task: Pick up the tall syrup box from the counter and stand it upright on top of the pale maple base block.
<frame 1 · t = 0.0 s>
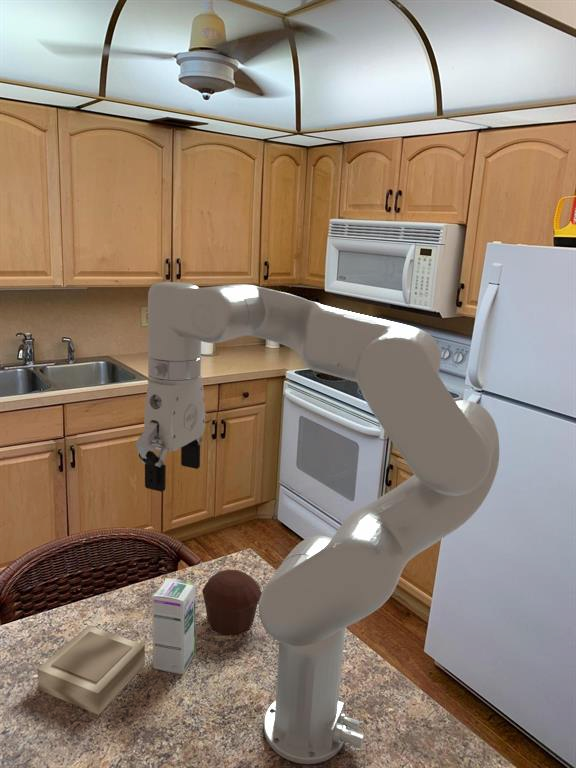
hand: (173, 477, 88), 37 cm above the countertop, tool pointing down, fingers open, 9 cm apart
syrup box: (174, 662, 101), on the countertop
base block: (93, 676, 97), on the countertop
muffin: (230, 622, 113), on the countertop
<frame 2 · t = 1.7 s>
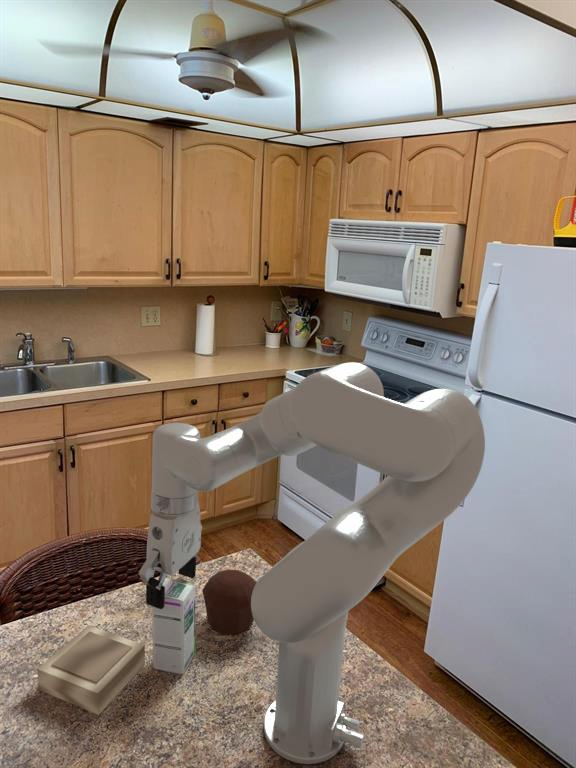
hand: (171, 590, 98), 14 cm above the countertop, tool pointing down, fingers open, 9 cm apart
nothing on the countertop moved.
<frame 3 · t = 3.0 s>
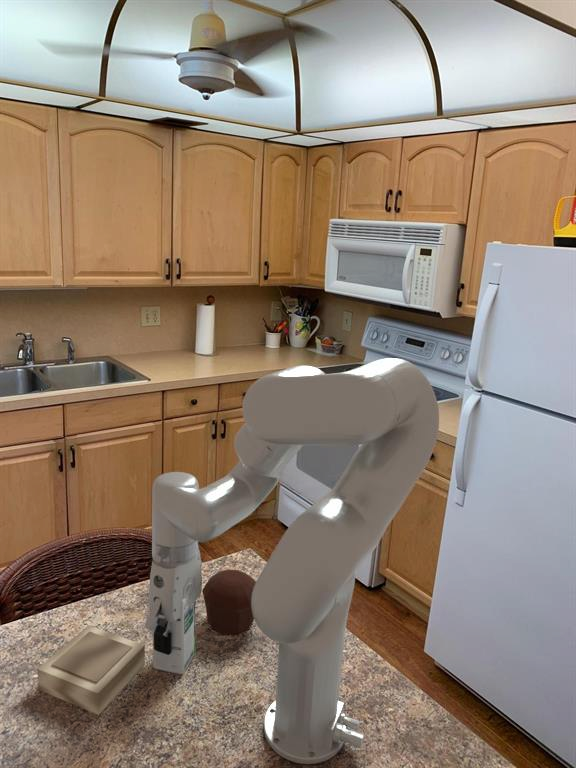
hand: (174, 638, 100), 5 cm above the countertop, tool pointing down, fingers closed on syrup box, 6 cm apart
syrup box: (174, 661, 101), on the countertop, touching gripper
everything else where it was.
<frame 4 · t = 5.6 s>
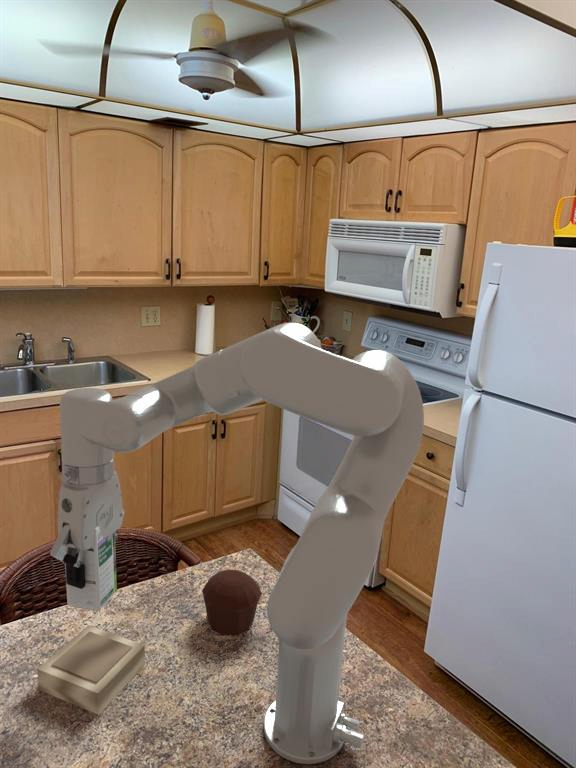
hand: (91, 573, 92), 20 cm above the countertop, tool pointing down, fingers closed on syrup box, 6 cm apart
syrup box: (92, 599, 93), point 15 cm above the countertop, touching gripper
everything else where it was.
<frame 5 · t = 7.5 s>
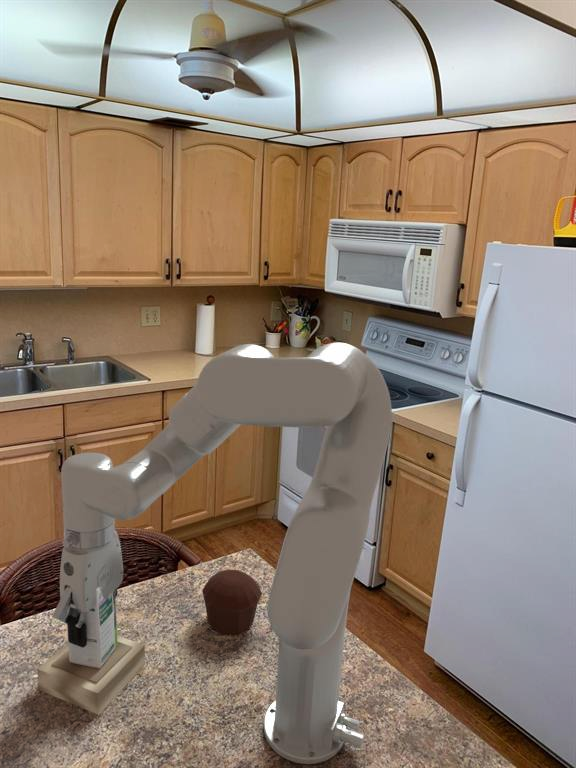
hand: (92, 629, 94), 9 cm above the countertop, tool pointing down, fingers closed on syrup box, 6 cm apart
syrup box: (93, 655, 95), point 4 cm above the countertop, touching gripper
everything else where it was.
when the fingers open (9 cm above the countertop, at t = 8.4 s): syrup box stays where it is, resting on base block.
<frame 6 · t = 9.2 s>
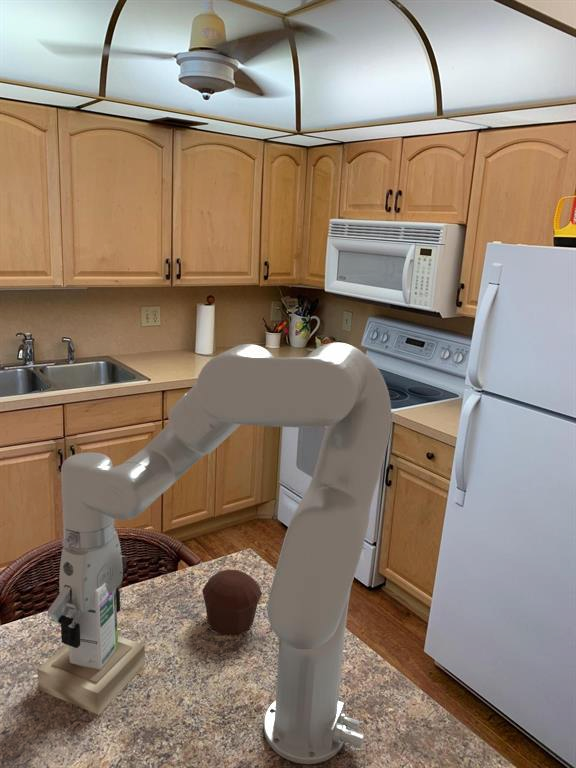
hand: (92, 626, 94), 10 cm above the countertop, tool pointing down, fingers open, 9 cm apart
syrup box: (93, 656, 95), point 4 cm above the countertop, touching base block
everything else where it was.
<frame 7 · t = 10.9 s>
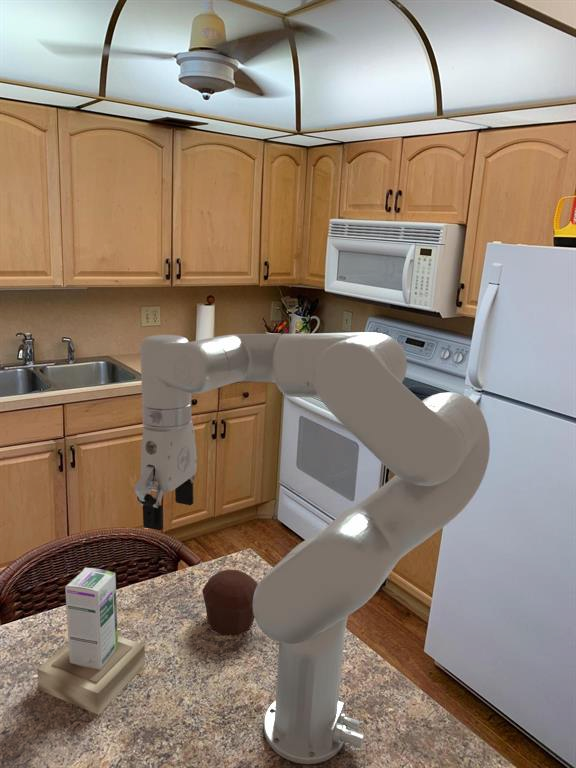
hand: (169, 515, 94), 28 cm above the countertop, tool pointing down, fingers open, 9 cm apart
nothing on the countertop moved.
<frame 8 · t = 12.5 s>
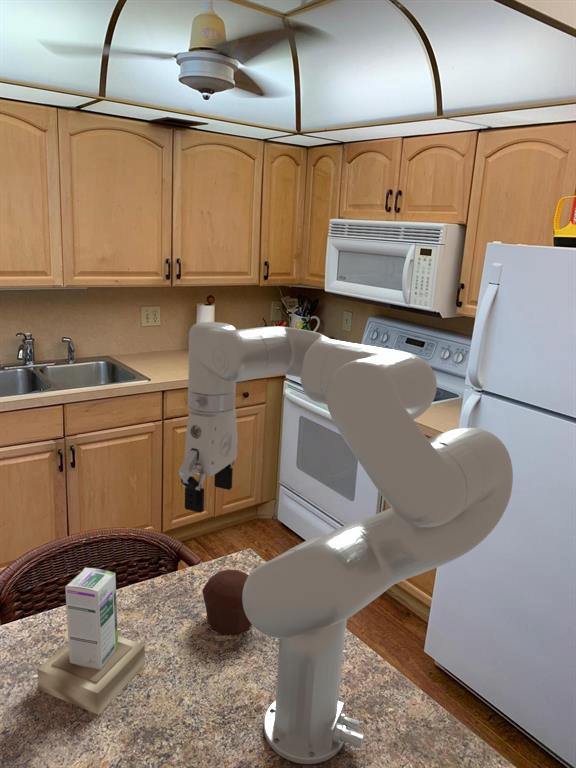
hand: (209, 498, 96), 30 cm above the countertop, tool pointing down, fingers open, 9 cm apart
nothing on the countertop moved.
at the end: syrup box inside the target area on the base block (0.2 cm from its centre), point 4.1 cm above the base block's base; syrup box tilted 0°; the gripper is holding nothing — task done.
